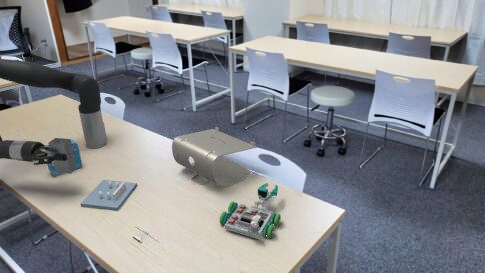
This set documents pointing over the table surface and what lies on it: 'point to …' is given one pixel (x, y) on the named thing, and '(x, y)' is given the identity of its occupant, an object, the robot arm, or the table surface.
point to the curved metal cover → (211, 156)
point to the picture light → (145, 233)
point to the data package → (77, 158)
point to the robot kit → (252, 216)
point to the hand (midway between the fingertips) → (69, 154)
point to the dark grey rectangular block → (66, 149)
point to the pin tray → (109, 195)
